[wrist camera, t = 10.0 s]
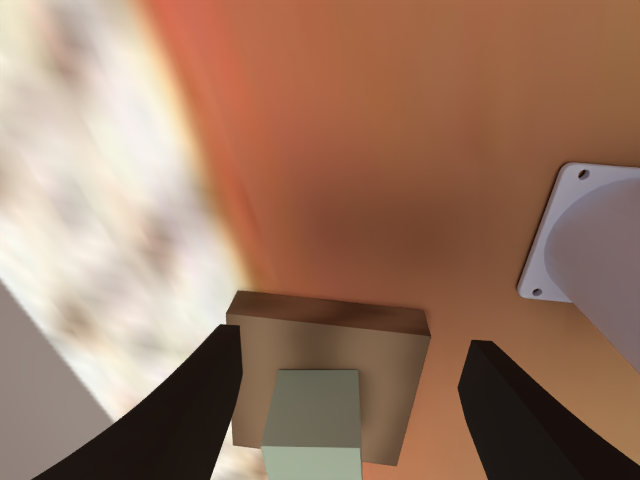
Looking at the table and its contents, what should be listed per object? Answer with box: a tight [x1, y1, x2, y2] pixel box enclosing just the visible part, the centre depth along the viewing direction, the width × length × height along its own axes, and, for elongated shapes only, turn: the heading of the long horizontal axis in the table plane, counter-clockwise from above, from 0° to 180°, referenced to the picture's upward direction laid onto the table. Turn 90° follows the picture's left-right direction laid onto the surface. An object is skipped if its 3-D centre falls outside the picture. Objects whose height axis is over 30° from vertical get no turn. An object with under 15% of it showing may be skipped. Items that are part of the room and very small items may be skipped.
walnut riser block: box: [226, 291, 431, 466], centre depth 25 cm, size 12×12×3 cm
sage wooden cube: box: [261, 370, 363, 480], centre depth 21 cm, size 5×5×5 cm
